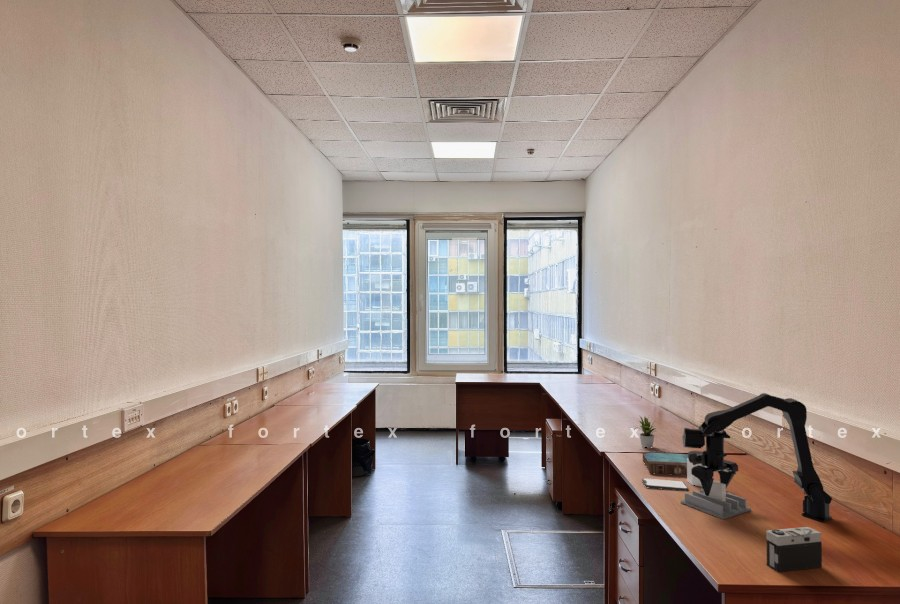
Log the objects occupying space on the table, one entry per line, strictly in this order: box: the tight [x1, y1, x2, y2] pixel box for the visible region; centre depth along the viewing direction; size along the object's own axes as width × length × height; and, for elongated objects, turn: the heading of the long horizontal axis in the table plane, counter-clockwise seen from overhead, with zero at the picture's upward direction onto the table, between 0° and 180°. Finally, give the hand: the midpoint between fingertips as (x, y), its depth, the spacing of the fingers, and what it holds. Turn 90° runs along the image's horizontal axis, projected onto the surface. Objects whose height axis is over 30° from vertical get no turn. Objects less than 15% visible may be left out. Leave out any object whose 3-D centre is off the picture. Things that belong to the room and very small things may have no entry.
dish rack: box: [680, 488, 752, 520], centre depth 179 cm, size 16×16×4 cm
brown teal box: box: [641, 451, 688, 477], centre depth 221 cm, size 23×18×5 cm
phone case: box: [641, 477, 689, 491], centre depth 200 cm, size 9×2×16 cm
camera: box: [765, 526, 823, 573], centre depth 139 cm, size 14×8×10 cm, turn 100°
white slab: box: [704, 479, 727, 502], centre depth 179 cm, size 7×2×8 cm, turn 29°
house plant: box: [631, 415, 659, 449], centre depth 257 cm, size 14×14×16 cm
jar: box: [686, 450, 707, 488], centre depth 203 cm, size 9×8×12 cm
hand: (715, 493), depth 179 cm, fingers open, 9 cm apart
